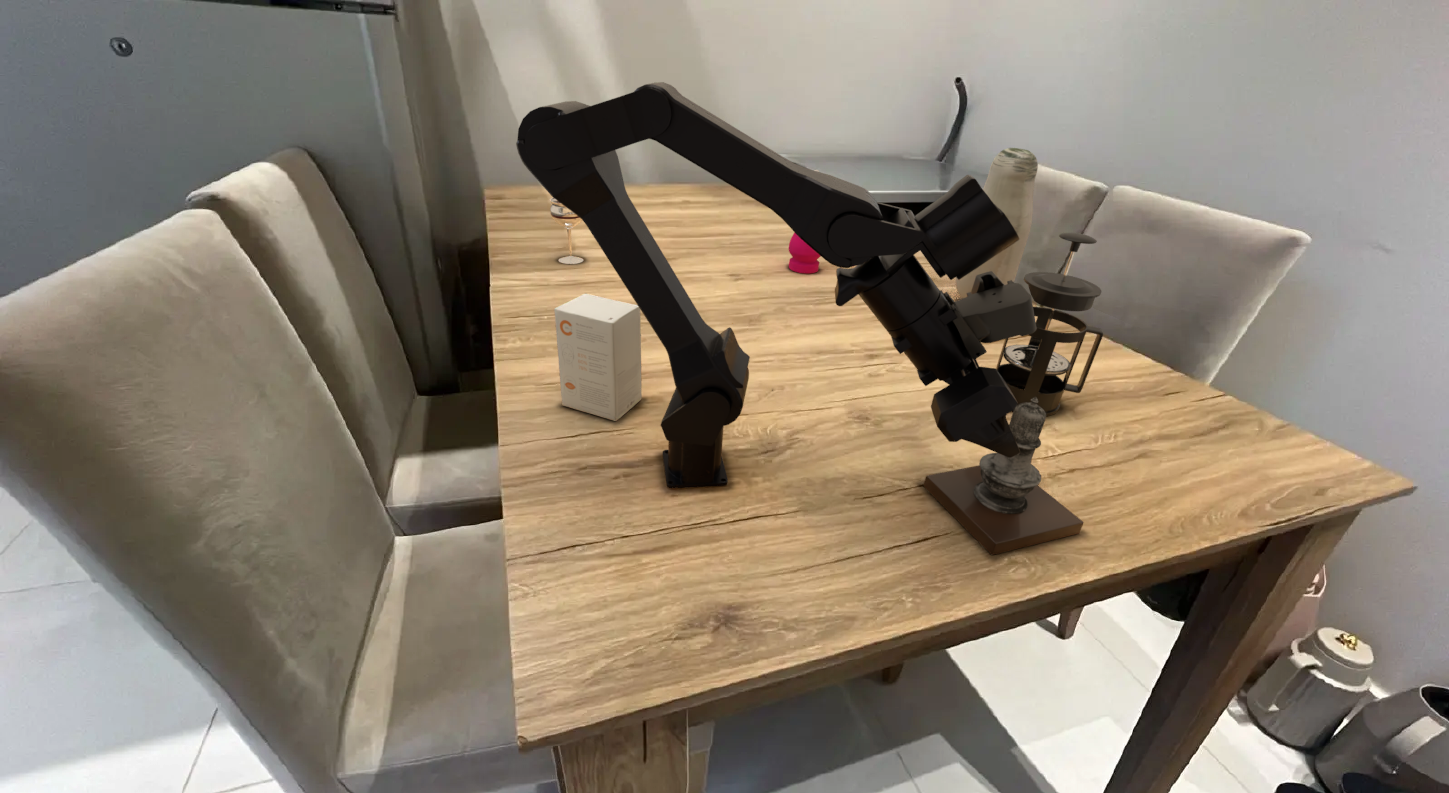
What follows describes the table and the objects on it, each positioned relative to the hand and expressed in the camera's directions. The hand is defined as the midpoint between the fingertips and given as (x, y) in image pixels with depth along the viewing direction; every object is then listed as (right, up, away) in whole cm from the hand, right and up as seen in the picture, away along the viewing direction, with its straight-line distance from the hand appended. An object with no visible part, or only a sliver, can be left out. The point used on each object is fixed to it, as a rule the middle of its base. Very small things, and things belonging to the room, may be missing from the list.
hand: (1001, 427), depth 61 cm
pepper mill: (-10, +30, +71) cm, 78 cm away
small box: (-43, +2, +19) cm, 46 cm away
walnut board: (+2, -9, +5) cm, 10 cm away
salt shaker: (+2, -8, +4) cm, 9 cm away
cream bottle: (+21, +20, +59) cm, 66 cm away
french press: (+15, +2, +26) cm, 30 cm away
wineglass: (-58, +31, +67) cm, 94 cm away
